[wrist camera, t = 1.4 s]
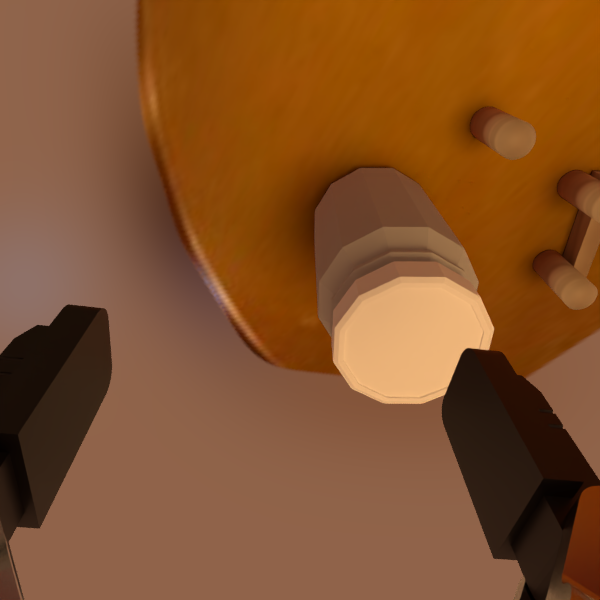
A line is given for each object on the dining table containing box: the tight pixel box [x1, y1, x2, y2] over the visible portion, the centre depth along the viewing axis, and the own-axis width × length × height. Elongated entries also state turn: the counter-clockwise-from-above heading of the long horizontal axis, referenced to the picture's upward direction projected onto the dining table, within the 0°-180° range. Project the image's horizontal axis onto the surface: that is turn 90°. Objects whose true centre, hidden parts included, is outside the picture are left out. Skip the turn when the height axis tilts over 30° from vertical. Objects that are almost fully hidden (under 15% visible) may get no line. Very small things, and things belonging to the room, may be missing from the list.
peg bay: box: [470, 107, 600, 310], centre depth 37 cm, size 12×18×6 cm, turn 178°
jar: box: [314, 168, 494, 404], centre depth 32 cm, size 10×10×18 cm
